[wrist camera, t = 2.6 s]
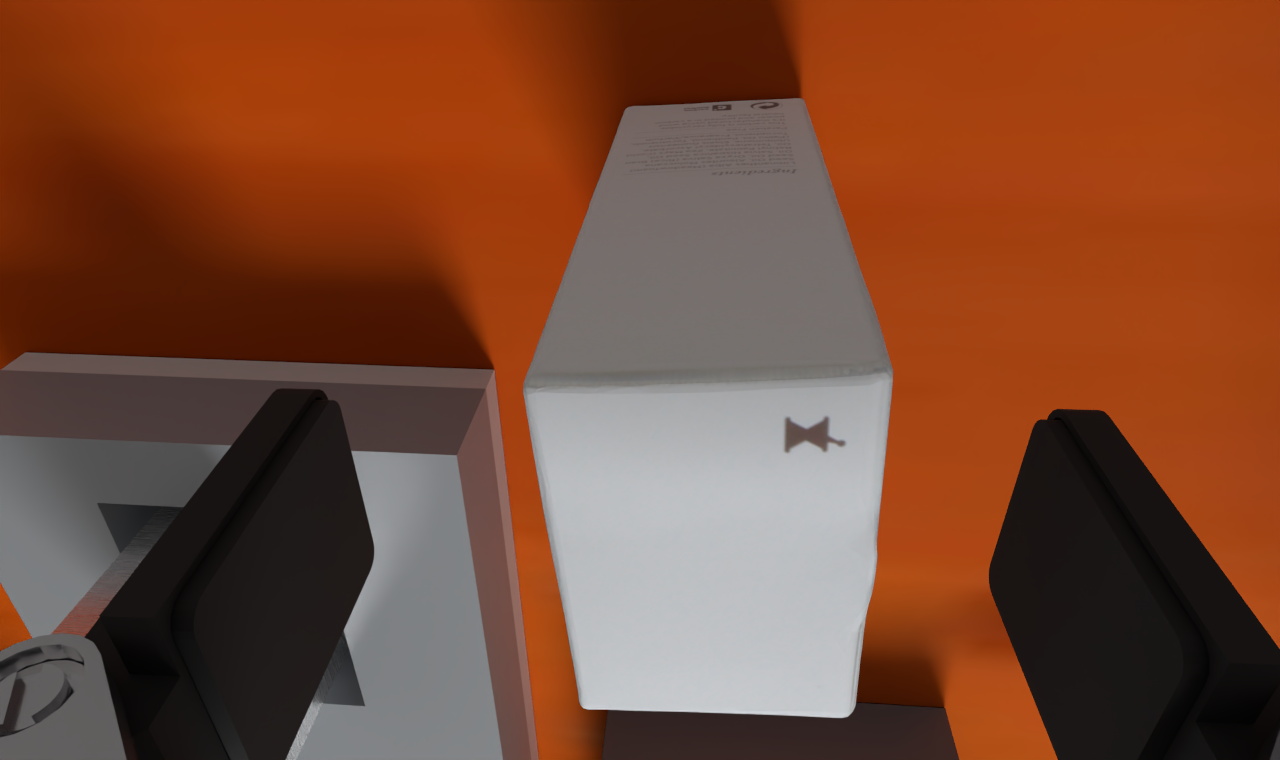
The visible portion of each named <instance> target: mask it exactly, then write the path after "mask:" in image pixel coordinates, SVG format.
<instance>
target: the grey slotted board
mask: <svg viewBox="0 0 1280 760" xmlns="http://www.w3.org/2000/svg"><path fill="white" fill-rule="evenodd" d="M280 388H293V389H320V390H322V391H324V393H325V394H326V395H327V398H328V400H335V401H337V402H338V404H339V405H340V408H341V411H342V416H343V420H344V424H345V428H346V432H347V436H348V440H349V444H350V448H351V452H352V456H353V460H354V464H355V469H356V473H357V477H358V481H359V485H360V489H361V493H362V497H363V501H364V505H365V509H366V513H367V517H368V522H369V526H370V530H371V534H372V538H373V542H374V560H373V565H372V568H371V571H370V573H369V575H368V577H367V580H366V582H365V584H364V586H363V589H362V591H361V593H360V595H359V597H358V600H357V602H356V604H355V606H354V609H353V611H352V613H351V615H350V617H349V620H348V622H347V624H346V626H345V629H344V633H345V636H346V640H347V643H348V647H349V648H348V650H347V653H346V655H345V657H344V659H343V661H342V663H341V665H340V668H339V670H338V672H337V674H336V676H335V678H334V680H333V682H332V685H331V687H330V689H329V691H328V693H327V695H326V697H325V700H324V702H323V704H322V706H321V708H320V710H319V712H318V715H317V717H316V719H315V721H314V723H313V725H312V727H311V729H310V732H309V734H308V736H307V738H306V740H305V742H304V744H303V747H302V749H301V751H300V753H299V755H298V757H297V759H296V760H539V756H538V748H537V739H536V730H535V721H534V713H533V704H532V695H531V686H530V678H529V669H528V660H527V651H526V643H525V634H524V625H523V616H522V608H521V599H520V590H519V581H518V573H517V564H516V555H515V547H514V538H513V529H512V520H511V512H510V503H509V494H508V485H507V477H506V468H505V459H504V450H503V442H502V433H501V424H500V415H499V407H498V398H497V389H496V381H495V372H494V370H489V369H462V368H435V367H408V366H381V365H354V364H327V363H300V362H273V361H246V360H219V359H192V358H164V357H137V356H110V355H83V354H56V353H29V352H25V353H24V354H22V355H21V356H19V357H18V358H16V359H15V360H14V361H12V362H11V363H9V364H8V365H7V366H5V367H4V368H2V369H1V370H0V582H1V584H2V586H3V588H4V589H5V591H6V593H7V595H8V596H9V598H10V600H11V601H12V603H13V605H14V607H15V608H16V610H17V612H18V614H19V615H20V617H21V619H22V621H23V622H24V624H25V626H26V627H27V629H28V631H29V633H30V634H31V636H32V638H35V637H38V636H43V635H51V634H52V632H53V631H54V630H55V629H56V628H57V627H58V625H59V624H60V623H61V622H62V621H63V620H64V619H65V617H66V616H67V615H68V614H69V613H70V612H71V610H72V609H73V608H74V607H75V606H76V605H77V603H78V602H79V601H80V600H81V599H82V598H83V597H84V595H85V594H86V593H87V592H88V591H89V590H90V588H91V587H92V586H93V585H94V584H95V583H96V581H97V580H98V579H99V578H100V577H101V576H102V575H103V573H104V572H105V571H106V570H107V569H108V568H109V566H110V565H111V564H112V563H113V562H114V561H115V560H116V558H117V557H118V556H119V555H120V554H121V553H122V551H123V550H124V549H125V548H126V547H127V546H128V544H129V543H130V542H131V541H132V540H133V539H134V538H135V536H136V535H137V534H138V533H139V532H140V531H141V529H142V528H143V527H144V526H145V525H146V524H147V522H148V521H149V520H150V519H151V518H152V517H153V516H154V514H155V513H156V512H157V511H158V510H159V509H160V507H161V506H169V507H184V506H185V505H186V504H187V502H188V501H189V500H190V498H191V497H192V496H193V495H194V493H195V492H196V491H197V489H198V488H199V487H200V486H201V484H202V483H203V482H204V480H205V479H206V478H207V477H208V475H209V474H210V473H211V471H212V470H213V469H214V468H215V466H216V465H217V464H218V462H219V461H220V460H221V459H222V457H223V456H224V455H225V453H226V452H227V451H228V450H229V448H230V447H231V446H232V444H233V443H234V442H235V441H236V439H237V438H238V437H239V435H240V434H241V433H242V432H243V430H244V429H245V428H246V426H247V425H248V424H249V423H250V421H251V420H252V419H253V417H254V416H255V415H256V414H257V412H258V411H259V410H260V408H261V407H262V406H263V405H264V403H265V402H266V401H267V399H268V398H269V397H270V396H271V394H272V393H273V392H274V391H275V390H276V389H280Z"/></svg>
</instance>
